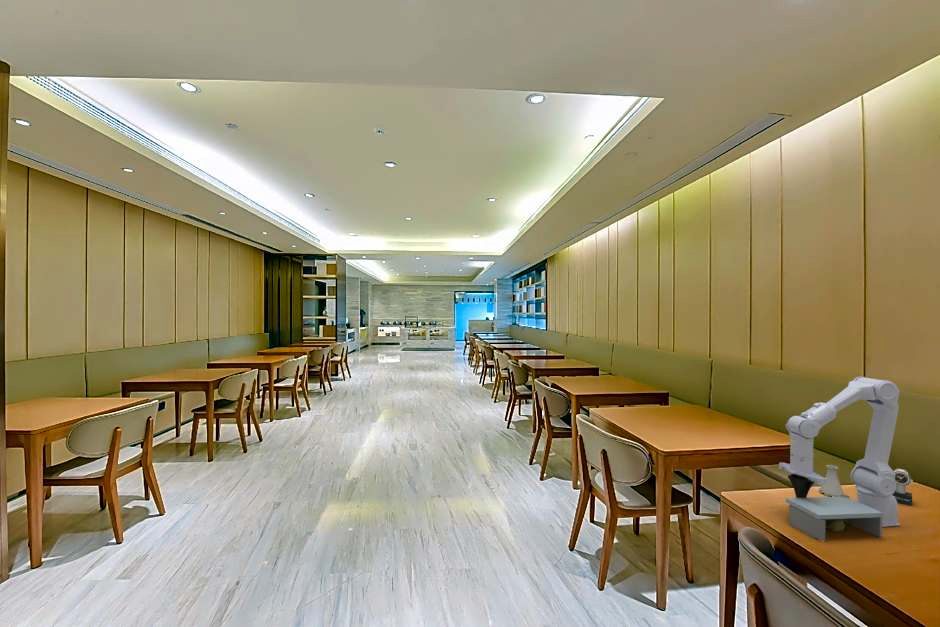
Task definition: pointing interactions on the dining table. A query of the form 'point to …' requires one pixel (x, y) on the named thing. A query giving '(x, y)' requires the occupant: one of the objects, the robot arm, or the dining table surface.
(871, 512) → the cover
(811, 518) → the grey angular open frame
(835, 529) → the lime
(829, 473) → the flask
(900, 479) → the watch
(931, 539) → the dining table surface
